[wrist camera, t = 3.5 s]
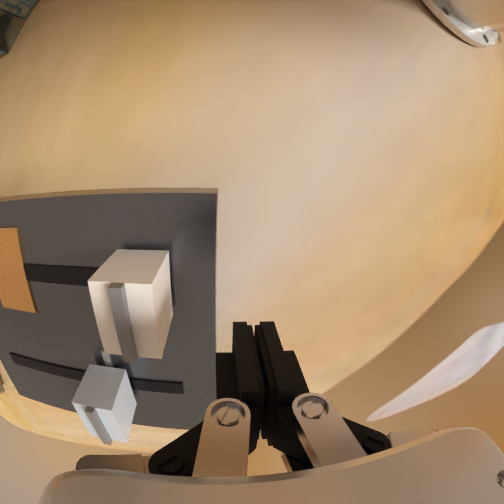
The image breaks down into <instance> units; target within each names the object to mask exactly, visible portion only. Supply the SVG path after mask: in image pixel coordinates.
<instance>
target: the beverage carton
mask: <svg viewBox="0 0 504 504" xmlns="http://www.w3.org/2000/svg"><path fill="white" fill-rule="evenodd" d="M38 1H39V0H0V54H7V53H8V52H9V50H10V48H11V46H12V44H13V42H14V40H15V38H16V37H17V35H18V33H19V31H20V29H21V28H22V26H23V24H24V23H25V21H26V19H27V18H28V16H29V15H30V13H31V12H32V10H33V9H34V7H35V6H36V4H37V3H38Z"/></svg>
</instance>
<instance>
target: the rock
mask: <svg viewBox="0 0 504 504" xmlns="http://www.w3.org/2000/svg"><path fill="white" fill-rule="evenodd" d="M4 391H5V390H4V388H3V386H2V382H1V379H0V393H3V392H4Z"/></svg>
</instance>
